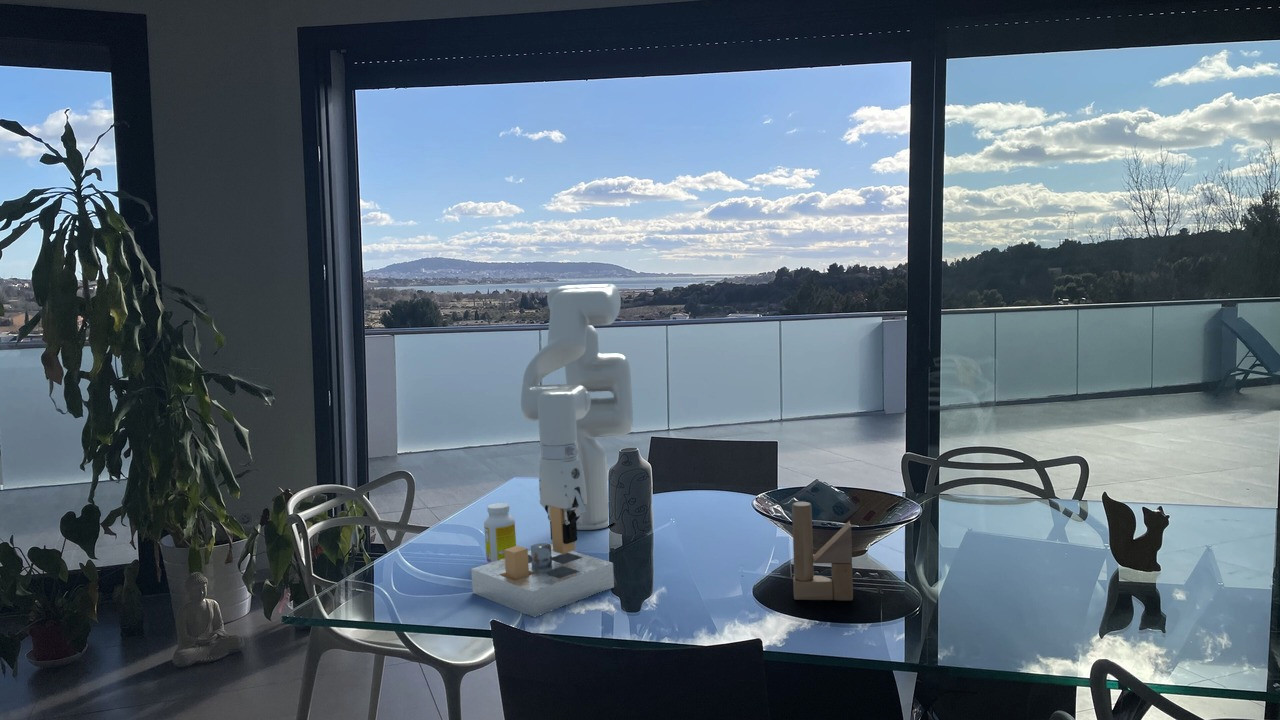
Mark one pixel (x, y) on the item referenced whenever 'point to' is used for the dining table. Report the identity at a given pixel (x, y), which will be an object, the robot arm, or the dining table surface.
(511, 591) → the grey peg hole board
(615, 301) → the robot arm
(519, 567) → the tall tan wooden post
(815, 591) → the wooden block structure
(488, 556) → the supplement bottle
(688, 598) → the dining table surface
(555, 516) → the tan square prism
